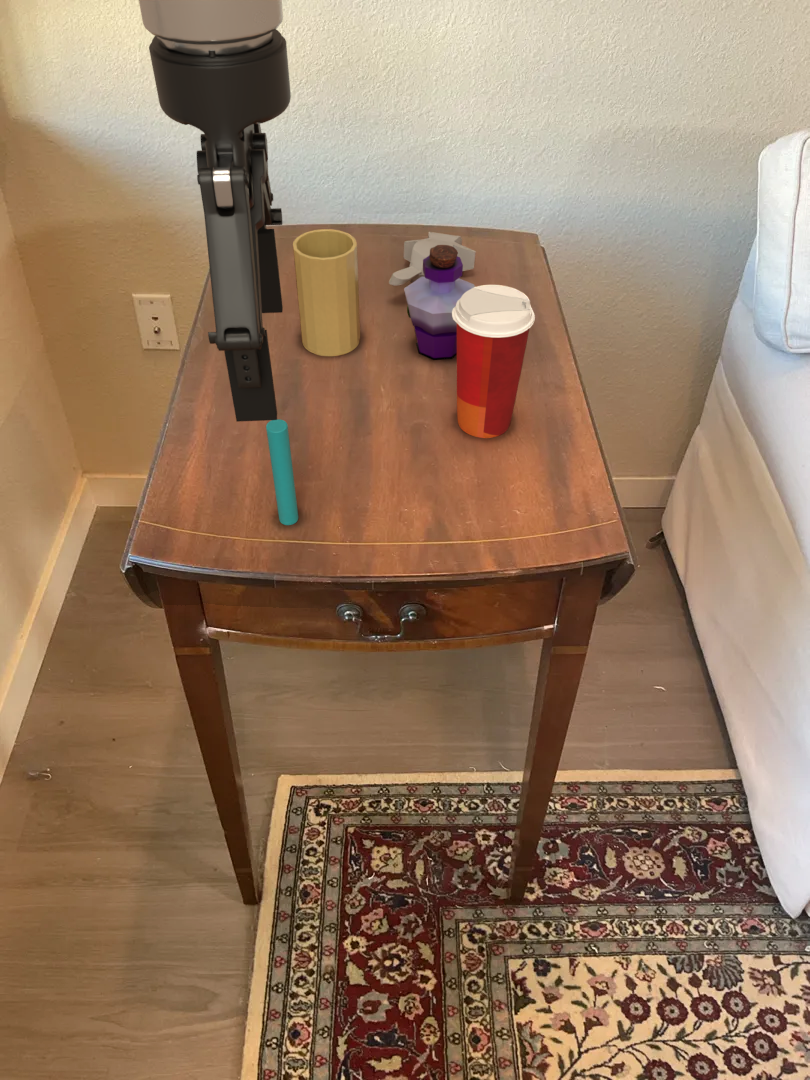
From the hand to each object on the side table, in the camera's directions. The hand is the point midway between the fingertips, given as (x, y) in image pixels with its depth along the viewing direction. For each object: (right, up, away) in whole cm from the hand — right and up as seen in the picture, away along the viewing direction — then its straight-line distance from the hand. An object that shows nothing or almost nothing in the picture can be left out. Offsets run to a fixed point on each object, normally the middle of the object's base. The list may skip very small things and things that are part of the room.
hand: (261, 360), depth 61 cm
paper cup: (+19, -1, +27) cm, 33 cm away
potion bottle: (+15, +9, +37) cm, 40 cm away
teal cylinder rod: (0, -11, +17) cm, 20 cm away
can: (+2, +10, +37) cm, 39 cm away
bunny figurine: (+14, +20, +47) cm, 53 cm away
